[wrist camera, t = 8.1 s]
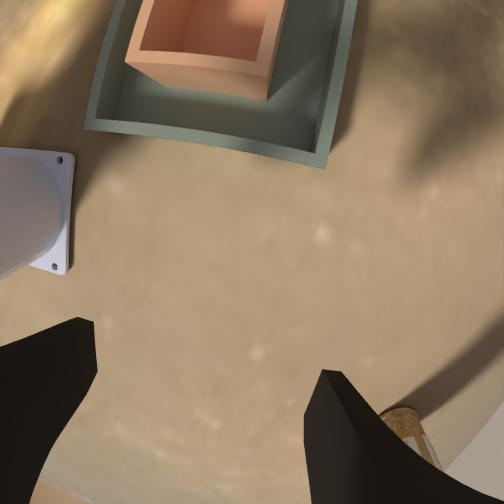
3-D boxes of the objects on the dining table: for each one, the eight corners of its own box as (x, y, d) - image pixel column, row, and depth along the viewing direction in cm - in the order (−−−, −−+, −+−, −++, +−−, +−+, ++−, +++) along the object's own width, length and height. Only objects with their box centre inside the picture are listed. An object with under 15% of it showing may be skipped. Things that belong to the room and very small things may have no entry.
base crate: (108, 131, 17) (83, 129, 14) (170, -69, 12) (158, -92, 9) (315, 167, 17) (325, 169, 14) (355, -47, 13) (366, -71, 10)
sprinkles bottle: (374, 407, 22) (421, 556, 9) (424, 402, 22) (486, 532, 9) (361, 444, 23) (392, 577, 10) (408, 438, 23) (451, 558, 10)
